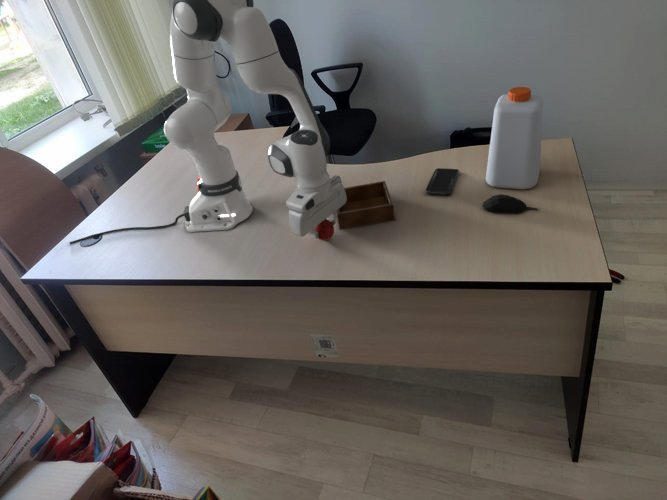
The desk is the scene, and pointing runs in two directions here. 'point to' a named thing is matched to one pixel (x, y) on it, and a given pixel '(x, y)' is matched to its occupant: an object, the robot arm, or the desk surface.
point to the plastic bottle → (515, 140)
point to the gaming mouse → (505, 204)
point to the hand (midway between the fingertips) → (323, 231)
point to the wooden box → (366, 205)
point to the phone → (442, 182)
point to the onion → (325, 230)
